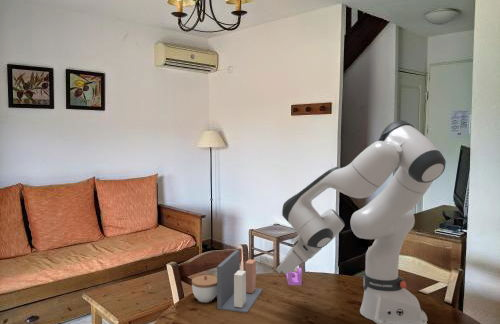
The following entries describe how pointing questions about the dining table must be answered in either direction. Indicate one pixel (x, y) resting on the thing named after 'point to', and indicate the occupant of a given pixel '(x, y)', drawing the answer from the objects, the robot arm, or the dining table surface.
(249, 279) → the salmon pink block
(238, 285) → the white rectangular block
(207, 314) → the dining table surface
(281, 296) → the dining table surface
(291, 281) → the bracket
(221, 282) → the gray bookend
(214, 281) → the lidded jar
